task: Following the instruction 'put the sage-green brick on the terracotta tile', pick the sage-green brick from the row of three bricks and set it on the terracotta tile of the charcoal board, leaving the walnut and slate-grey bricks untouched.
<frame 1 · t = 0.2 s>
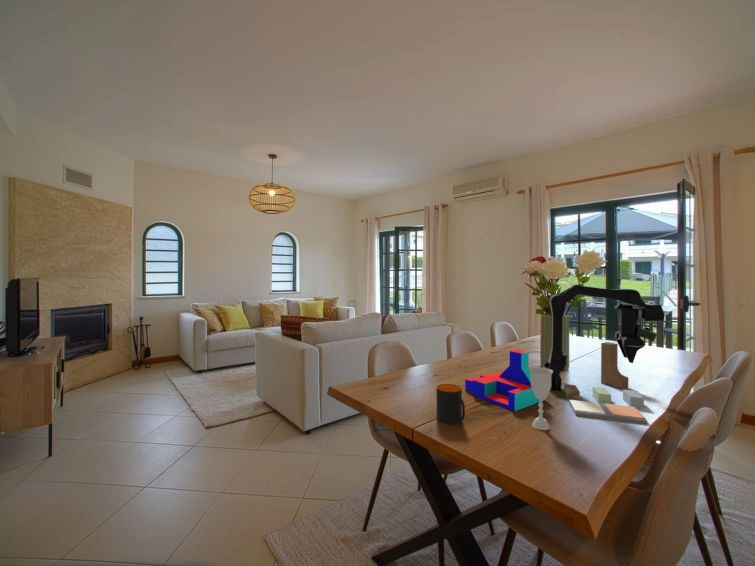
hand: (628, 360, 132), 14 cm above the table, tool pointing down, fingers open, 9 cm apart
slate brick: (632, 404, 124), on the table
sage brick: (601, 400, 128), on the table
tile board: (604, 412, 116), on the table
mug: (452, 421, 111), on the table
walnut brick: (571, 397, 131), on the table
chalice: (540, 427, 106), on the table
wooden block: (614, 385, 145), on the table
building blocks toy: (501, 396, 134), on the table
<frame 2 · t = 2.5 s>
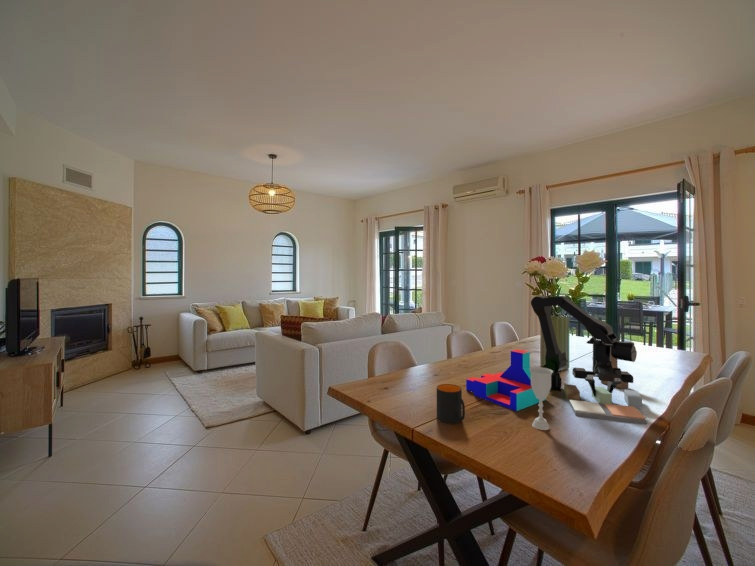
hand: (601, 397, 128), 1 cm above the table, tool pointing down, fingers closed on sage brick, 4 cm apart
sage brick: (601, 400, 128), on the table, touching gripper
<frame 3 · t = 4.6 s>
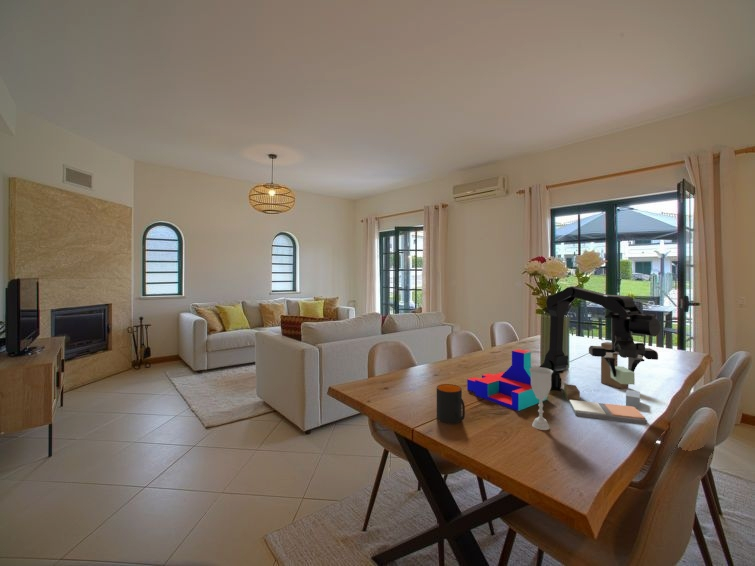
hand: (622, 377, 116), 13 cm above the table, tool pointing down, fingers closed on sage brick, 4 cm apart
sage brick: (622, 380, 116), point 11 cm above the table, touching gripper
when the fingers open (4 cm above the table, at t = 6.6 s): sage brick drops 1 cm, resting on tile board.
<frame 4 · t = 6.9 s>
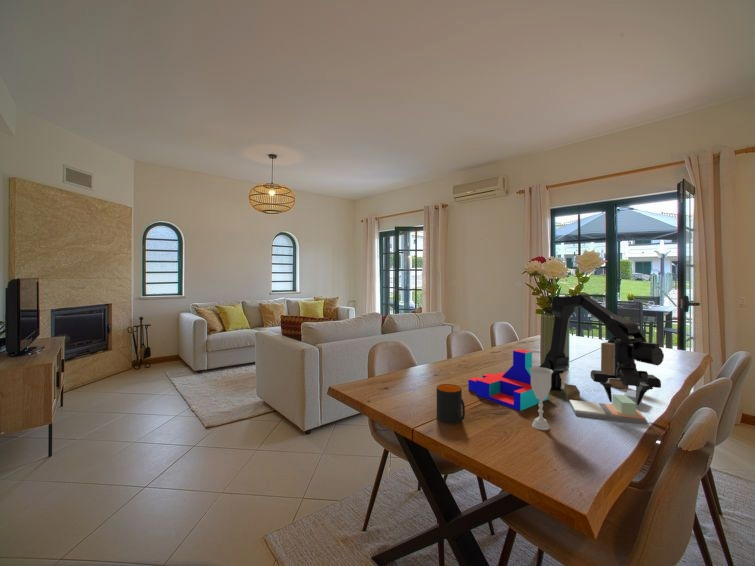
hand: (623, 403, 114), 4 cm above the table, tool pointing down, fingers open, 7 cm apart
sage brick: (623, 410, 114), point 2 cm above the table, touching tile board
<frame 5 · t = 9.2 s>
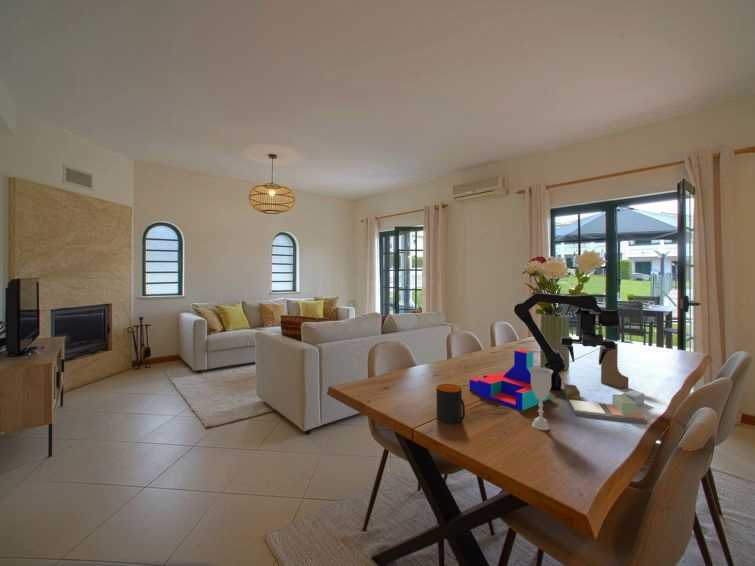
hand: (586, 363, 137), 12 cm above the table, tool pointing down, fingers open, 9 cm apart
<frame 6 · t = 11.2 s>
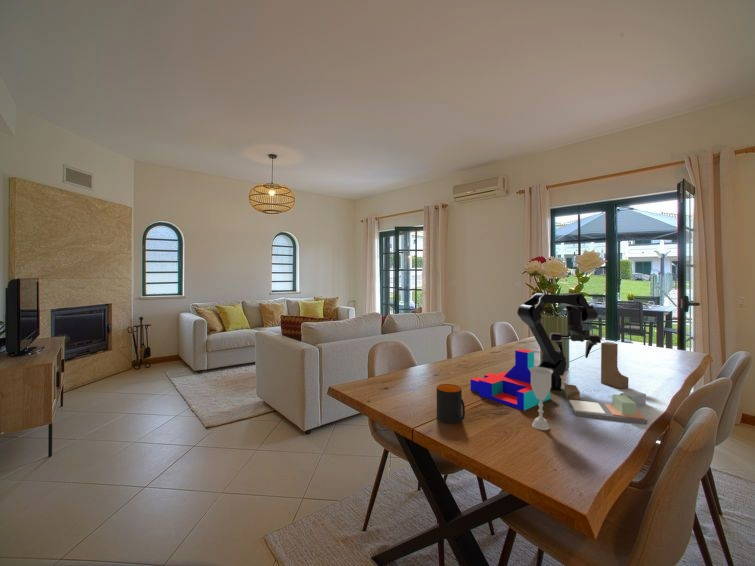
hand: (574, 357, 146), 12 cm above the table, tool pointing down, fingers open, 9 cm apart
at the end: sage brick 0.0 cm from the target spot on the tile board, point 1.6 cm above the tile board's base; walnut brick moved 0.3 cm from its start; slate brick moved 0.2 cm from its start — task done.
